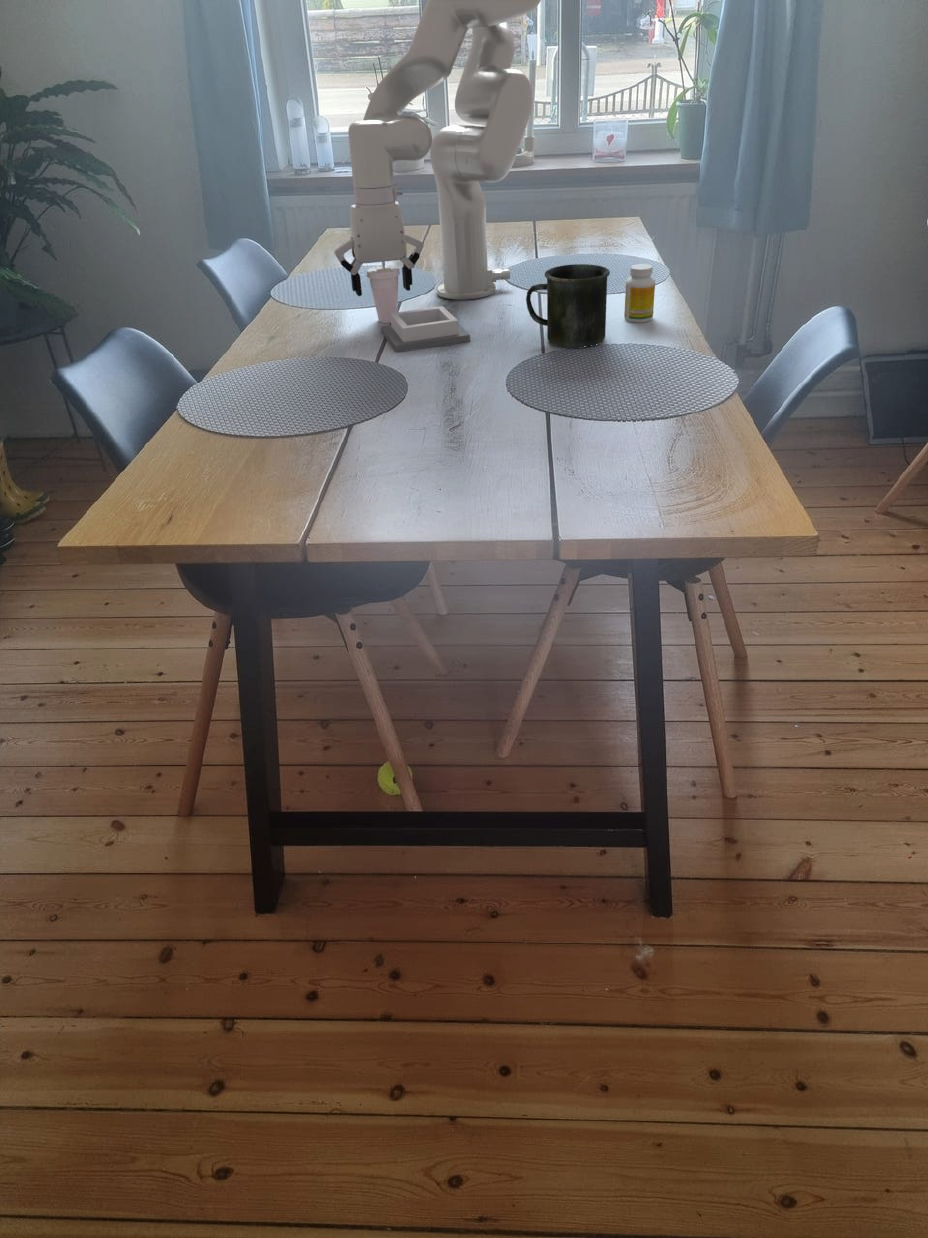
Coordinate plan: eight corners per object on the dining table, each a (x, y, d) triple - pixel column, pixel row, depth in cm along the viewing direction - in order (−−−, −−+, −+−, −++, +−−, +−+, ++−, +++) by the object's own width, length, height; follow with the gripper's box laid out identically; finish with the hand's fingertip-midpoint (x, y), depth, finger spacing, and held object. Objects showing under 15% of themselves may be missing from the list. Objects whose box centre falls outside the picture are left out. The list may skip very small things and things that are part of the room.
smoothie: (408, 315, 182) (402, 242, 174) (396, 325, 177) (389, 250, 169) (379, 314, 184) (371, 241, 176) (366, 324, 179) (358, 249, 171)
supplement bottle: (618, 318, 173) (620, 265, 167) (641, 313, 175) (644, 261, 169) (635, 324, 169) (638, 271, 163) (658, 319, 171) (662, 266, 165)
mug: (607, 350, 158) (609, 279, 151) (523, 350, 160) (522, 280, 153) (608, 331, 167) (610, 263, 160) (529, 331, 169) (528, 264, 162)
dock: (451, 322, 176) (449, 302, 174) (470, 341, 166) (469, 320, 164) (381, 332, 174) (379, 312, 172) (396, 352, 163) (394, 331, 161)
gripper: (415, 189, 172) (421, 282, 182) (325, 197, 168) (336, 292, 178) (424, 195, 166) (430, 291, 176) (331, 203, 162) (342, 301, 172)
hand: (382, 291), depth 177 cm, fingers open, 9 cm apart
